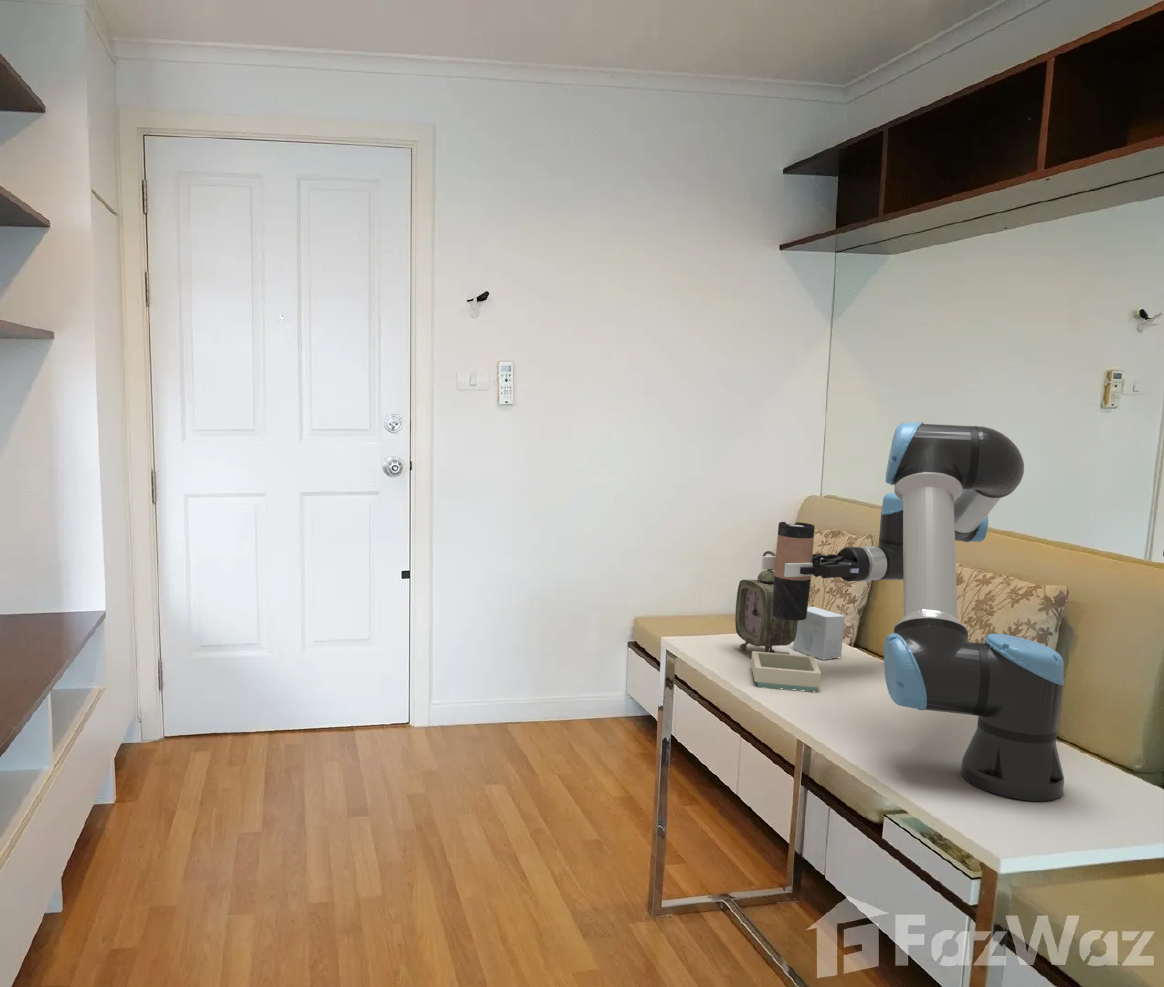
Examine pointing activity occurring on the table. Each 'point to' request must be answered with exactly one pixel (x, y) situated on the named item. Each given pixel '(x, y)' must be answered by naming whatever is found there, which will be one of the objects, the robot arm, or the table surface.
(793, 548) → the travel mug
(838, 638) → the skincare box
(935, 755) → the table surface
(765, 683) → the rectangular tray
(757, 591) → the tabletop clock
